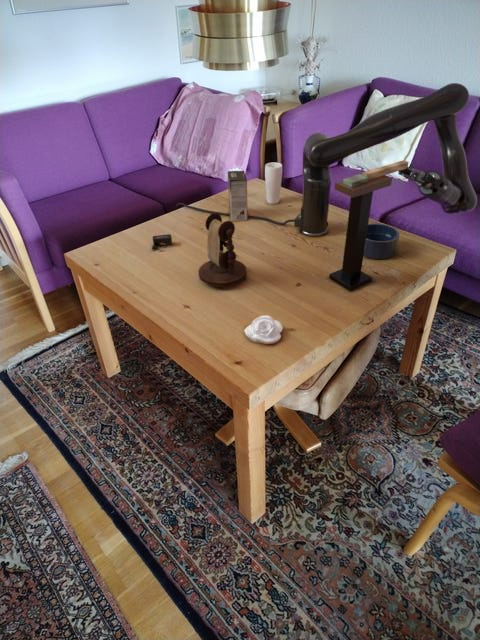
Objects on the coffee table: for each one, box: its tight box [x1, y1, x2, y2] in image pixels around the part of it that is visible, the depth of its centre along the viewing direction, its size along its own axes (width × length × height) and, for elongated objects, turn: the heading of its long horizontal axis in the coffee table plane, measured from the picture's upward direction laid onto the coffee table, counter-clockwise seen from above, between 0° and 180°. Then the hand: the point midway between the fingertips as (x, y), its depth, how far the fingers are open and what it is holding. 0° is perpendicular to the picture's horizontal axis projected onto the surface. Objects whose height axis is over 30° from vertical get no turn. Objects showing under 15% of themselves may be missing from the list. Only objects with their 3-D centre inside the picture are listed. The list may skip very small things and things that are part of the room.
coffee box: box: [227, 170, 248, 222], centre depth 177 cm, size 9×6×16 cm
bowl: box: [363, 223, 400, 260], centre depth 156 cm, size 13×13×6 cm
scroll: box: [198, 213, 248, 290], centre depth 140 cm, size 15×15×20 cm
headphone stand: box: [328, 173, 393, 292], centre depth 134 cm, size 14×9×31 cm, turn 124°
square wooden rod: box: [342, 160, 409, 187], centre depth 126 cm, size 22×3×2 cm, turn 124°
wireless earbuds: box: [151, 233, 173, 251], centre depth 162 cm, size 5×7×3 cm, turn 101°
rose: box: [244, 315, 283, 345], centre depth 122 cm, size 10×4×10 cm
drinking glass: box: [264, 162, 283, 205], centre depth 187 cm, size 7×7×15 cm
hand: (411, 171), depth 134 cm, fingers open, 8 cm apart
